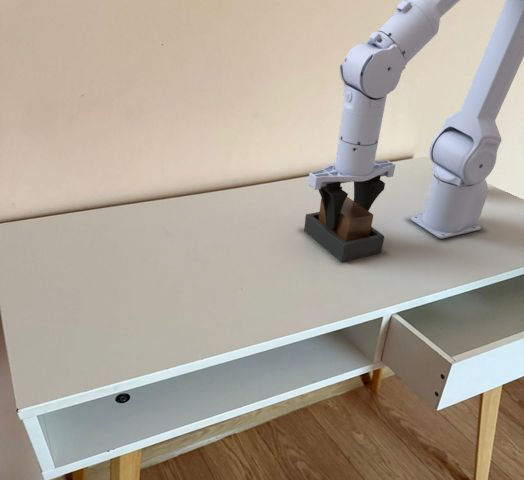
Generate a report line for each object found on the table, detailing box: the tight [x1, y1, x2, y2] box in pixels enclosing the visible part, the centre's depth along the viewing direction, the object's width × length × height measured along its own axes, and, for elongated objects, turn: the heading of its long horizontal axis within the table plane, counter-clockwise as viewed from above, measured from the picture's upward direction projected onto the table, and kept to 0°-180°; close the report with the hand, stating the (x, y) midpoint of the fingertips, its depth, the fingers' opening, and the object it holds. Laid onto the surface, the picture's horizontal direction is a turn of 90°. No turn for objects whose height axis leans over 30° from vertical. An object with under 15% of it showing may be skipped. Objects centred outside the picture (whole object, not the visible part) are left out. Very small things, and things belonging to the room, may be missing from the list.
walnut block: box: [318, 196, 374, 242], centre depth 88 cm, size 4×8×4 cm, turn 28°
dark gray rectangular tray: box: [303, 211, 386, 263], centre depth 90 cm, size 8×11×3 cm
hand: (344, 224), depth 89 cm, fingers closed on walnut block, 4 cm apart
